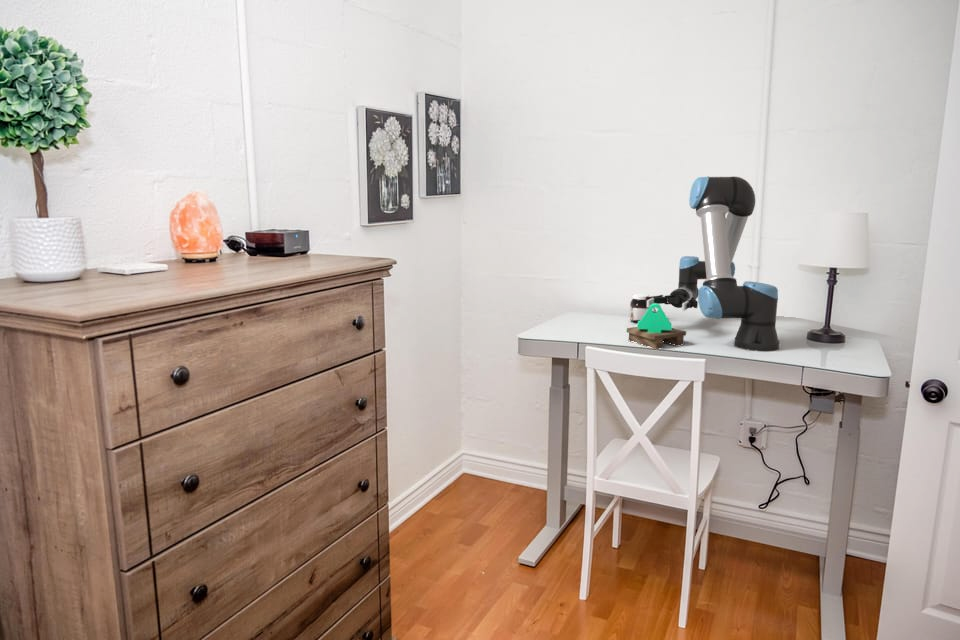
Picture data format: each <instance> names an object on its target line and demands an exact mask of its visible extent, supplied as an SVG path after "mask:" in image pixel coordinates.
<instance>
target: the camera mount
mask: <svg viewBox="0 0 960 640" xmlns="http://www.w3.org/2000/svg"><path fill="white" fill-rule="evenodd" d="M653 308H655V309H657V310H656V312H654V311H653ZM637 327H638V329H648V332H654V333H661V330H672V328H673V327H672V322H671V321H670V320H669V318H668V317H667V316H666V314H665V312H664V311H663V308H662V306H661V304H657V303H653V304H651V305H650V307H649V309H648V310H647V312H646V313H645V315H644V316H643V317H642V319H641V320H640V321H638V324H637Z"/></svg>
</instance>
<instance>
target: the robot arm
mask: <svg viewBox="0 0 960 640" xmlns="http://www.w3.org/2000/svg"><path fill="white" fill-rule="evenodd" d="M688 199H689V202H688V203H689V207H690V209H692V210H695V214H696V216H697V217H699V218H700V223H701V232H702V235H701V236H702V243H703V244H702V245H703V254H704V260H700V257H698V256H692V255H691V256H690V255H689V256H688V255H686V256H682V257H680V261H679V267H678V269H679V270H678V287H677V288H675V289H674V290H673V291H671V292H670V293H669V295H664V294H659V295H653V296H651V295H650V296H649V297H646V304H647V307H648V308H649V307H650V305H651V304H653V303H657V304H659V305H661V304H664V305H672V306H673V307H674V308H677V309H680V308H681V311H682V312H683V311H686V310H688V309H693V308H694V309H698V308H699V310H700V312H701V314H702V315H703V316H704V317H706V318H708V319H716V320H721V319H740V325H739V328H738V330H737V333H736V335H735V337H734V343H733V345H734V346H735V347H736V346H737V348H740V349H742V348H743V350H747V349H749V350H748V351H755V350H757V351H758V352H771V351H772V352H773V351H776V350H778V349H779V348H780V340H779V337H778V333H777V329H776V325H777V323H776V322H777V321H776V320H777V314H778V313H777V311H778V310H777V309H778V303H779V302H778V301H779V291H778V287H776V286H775V285H772V284H769V283H764V282H758V281H748V280H747V281H743V283H742V285H738V281H737V279H736V278H735V277H734V276H735V273H736V272H735V271H736V265H735V263H734V261H733V260H734V257H735V255H736V251H737V249H738V247H739V242H740V240H741V237H742V235H743V232H744V229H745V227H746V224H747V221H748V218H749V217H750V216H752V215H753V212H754V210H755V207H756V194H755V191H754V188H753V187H752V185H751V184H750V182H748V180H746V179H745V178H742V177H740V176H701V177H700V176H699V177H697V178H696V179H695V180H694V181H693V183H692V185H691V188H690V191H689V198H688ZM698 280H703V282H702V286H700V287H699V288H698ZM698 306H699V307H698Z"/></svg>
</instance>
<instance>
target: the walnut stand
mask: <svg viewBox="0 0 960 640" xmlns="http://www.w3.org/2000/svg"><path fill="white" fill-rule="evenodd" d="M626 332H627V333H628V341H629V340H630V341H629V342H631V341H634V342H637V343H640V344H639V345H641V344H643V345H642V346H644V345H647V346H650V347H652V348H651V349H654V350H660V349H659V348H661V349H663V348H662V347H663V346H664V343H665V342H668V343H671V344H670V345H672V344H675V345H680V346H682V345H681V344H683V345H684V337H685V336H686V335H687V331H685V330H681V329H679V328H674V327H672V330H661V333H654V332H648V329H638V326H634V327H627V328H626ZM663 341H664V342H663ZM634 342H633V343H634ZM637 343H636V344H637ZM668 343H667V344H668ZM675 345H674V346H675ZM647 346H646V347H647ZM650 347H649V348H650Z"/></svg>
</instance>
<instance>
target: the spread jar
mask: <svg viewBox="0 0 960 640" xmlns="http://www.w3.org/2000/svg"><path fill="white" fill-rule="evenodd" d="M631 297H632V298H631V301H630V304H629V321H630V322H631V323H632V322H633V323H632V324H637V323H638V321H640V320H641V319H642V317H643V316H644V315H645V313H646V312H647V310H648V309H649V308H648V307H647V304H646V297H650V295H649V294H645V293H636V294H635V293H634V294H632V296H631ZM653 311H654V312H657V310H656V308H653Z"/></svg>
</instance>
